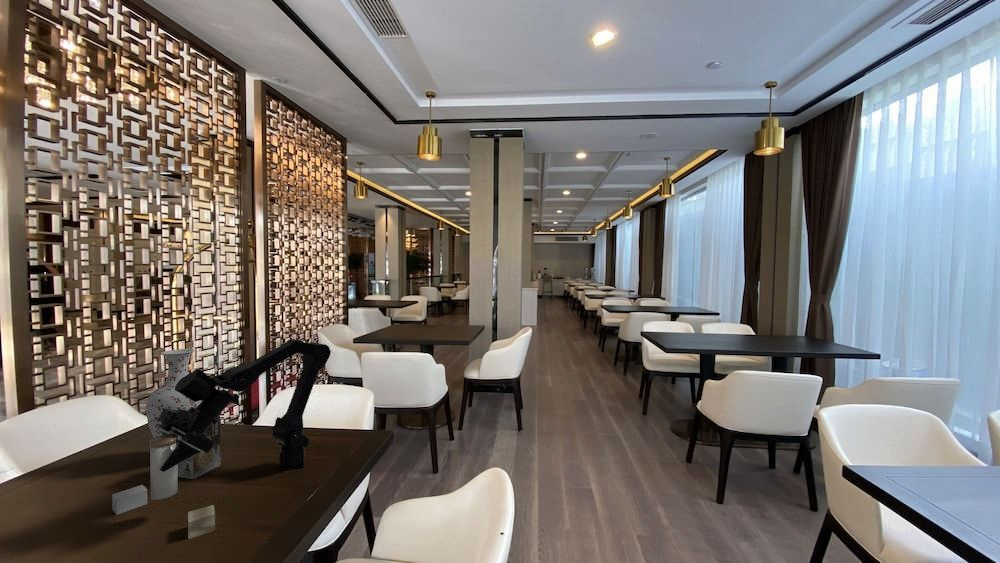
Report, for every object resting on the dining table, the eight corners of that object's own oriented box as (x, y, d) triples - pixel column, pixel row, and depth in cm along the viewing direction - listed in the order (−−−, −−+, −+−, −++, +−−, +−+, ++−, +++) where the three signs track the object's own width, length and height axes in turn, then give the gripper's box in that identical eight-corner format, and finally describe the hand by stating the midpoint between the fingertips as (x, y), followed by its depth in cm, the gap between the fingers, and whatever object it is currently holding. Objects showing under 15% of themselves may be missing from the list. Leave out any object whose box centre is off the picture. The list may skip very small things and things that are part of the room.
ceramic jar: (181, 486, 104) (180, 432, 104) (174, 496, 99) (173, 440, 99) (154, 490, 102) (154, 435, 102) (146, 501, 97) (145, 444, 97)
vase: (144, 472, 123) (144, 358, 122) (147, 454, 135) (147, 350, 135) (210, 458, 133) (209, 352, 132) (207, 441, 145) (206, 345, 145)
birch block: (213, 520, 100) (213, 504, 100) (215, 531, 96) (215, 514, 96) (188, 528, 97) (188, 512, 96) (188, 539, 93) (188, 522, 92)
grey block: (142, 499, 109) (142, 484, 109) (147, 504, 106) (147, 489, 106) (112, 509, 104) (112, 494, 104) (116, 515, 101) (116, 499, 101)
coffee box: (205, 463, 129) (204, 413, 129) (221, 465, 128) (221, 415, 127) (176, 477, 120) (175, 423, 120) (193, 479, 119) (193, 425, 119)
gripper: (168, 389, 108) (113, 444, 99) (198, 401, 98) (140, 464, 89) (202, 409, 115) (154, 463, 106) (234, 423, 105) (183, 483, 96)
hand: (157, 467), depth 99 cm, fingers closed on ceramic jar, 5 cm apart
